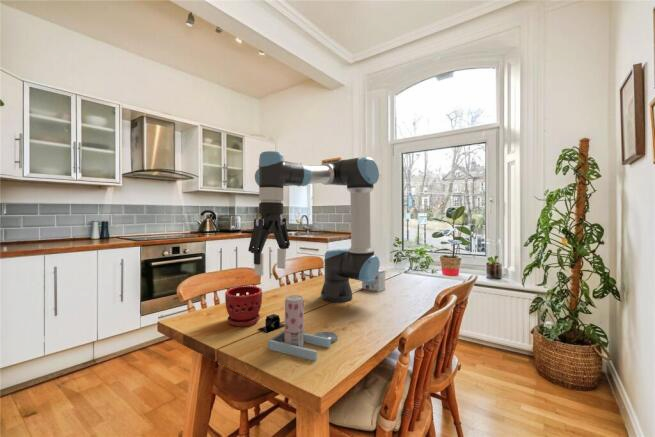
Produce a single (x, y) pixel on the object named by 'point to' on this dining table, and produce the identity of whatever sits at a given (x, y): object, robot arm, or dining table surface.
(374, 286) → the light bulb box
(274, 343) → the channel
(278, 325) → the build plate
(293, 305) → the beverage can
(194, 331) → the dining table surface
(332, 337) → the grey round disc
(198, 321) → the dining table surface
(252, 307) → the plant pot
